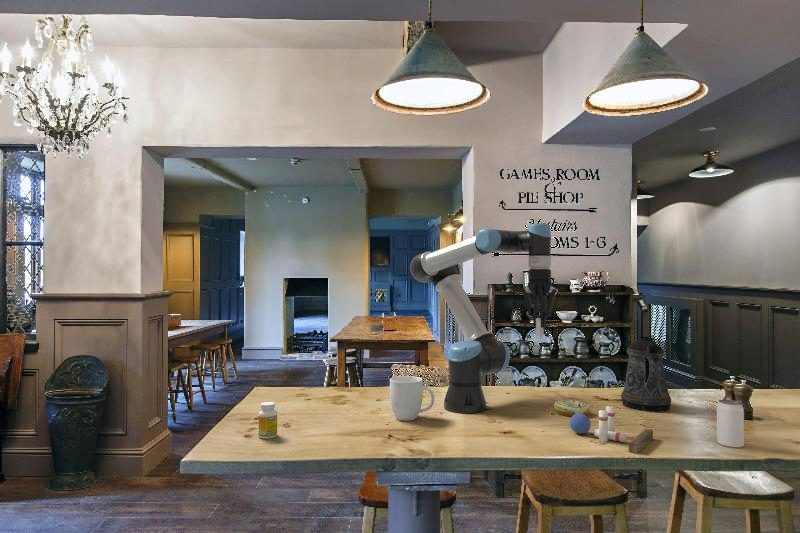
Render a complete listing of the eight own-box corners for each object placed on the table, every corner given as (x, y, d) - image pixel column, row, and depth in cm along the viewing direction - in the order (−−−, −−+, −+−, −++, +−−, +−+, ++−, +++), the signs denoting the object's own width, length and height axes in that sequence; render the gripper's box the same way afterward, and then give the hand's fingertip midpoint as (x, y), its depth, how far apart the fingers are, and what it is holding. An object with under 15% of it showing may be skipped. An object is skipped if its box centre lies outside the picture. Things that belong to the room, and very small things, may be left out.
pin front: (593, 432, 152) (623, 438, 147) (596, 426, 154) (625, 431, 148) (595, 438, 153) (625, 444, 148) (597, 432, 155) (627, 438, 149)
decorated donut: (584, 420, 171) (584, 408, 171) (549, 415, 178) (549, 403, 178) (593, 412, 180) (593, 401, 180) (560, 407, 187) (560, 396, 187)
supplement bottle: (267, 440, 150) (267, 406, 150) (254, 437, 153) (254, 404, 153) (281, 435, 155) (281, 402, 155) (268, 432, 157) (268, 400, 158)
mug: (432, 413, 179) (432, 375, 179) (436, 422, 168) (435, 382, 168) (389, 413, 178) (389, 375, 178) (389, 423, 167) (389, 382, 167)
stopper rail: (628, 452, 140) (628, 442, 140) (645, 437, 153) (645, 429, 153) (636, 453, 139) (636, 444, 139) (653, 439, 151) (652, 430, 151)
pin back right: (597, 441, 149) (597, 411, 150) (600, 438, 151) (600, 409, 151) (606, 442, 148) (606, 412, 148) (609, 440, 150) (609, 411, 150)
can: (711, 441, 149) (711, 399, 150) (732, 440, 150) (732, 398, 150) (727, 448, 143) (727, 405, 143) (749, 448, 144) (749, 404, 144)
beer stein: (646, 399, 199) (646, 334, 199) (689, 412, 181) (688, 340, 181) (611, 402, 194) (610, 335, 194) (651, 416, 176) (651, 342, 176)
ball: (589, 426, 151) (579, 440, 154) (597, 420, 156) (587, 434, 158) (572, 412, 155) (562, 426, 157) (580, 406, 159) (571, 421, 161)
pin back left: (604, 436, 154) (604, 407, 154) (607, 434, 156) (607, 405, 156) (613, 437, 152) (613, 408, 153) (616, 435, 154) (615, 407, 154)
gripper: (517, 268, 180) (517, 336, 180) (553, 268, 172) (553, 339, 171) (527, 268, 186) (527, 334, 186) (562, 268, 177) (562, 337, 177)
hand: (539, 336), depth 178 cm, fingers closed
